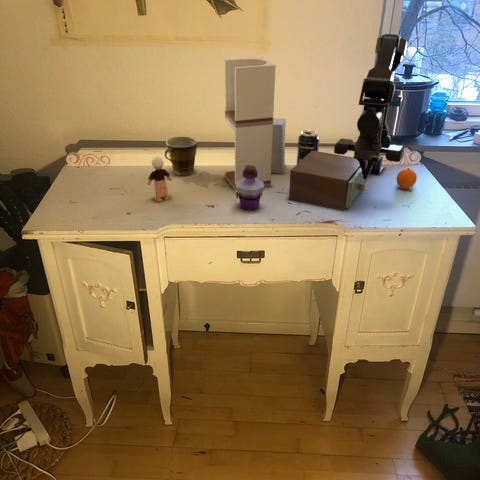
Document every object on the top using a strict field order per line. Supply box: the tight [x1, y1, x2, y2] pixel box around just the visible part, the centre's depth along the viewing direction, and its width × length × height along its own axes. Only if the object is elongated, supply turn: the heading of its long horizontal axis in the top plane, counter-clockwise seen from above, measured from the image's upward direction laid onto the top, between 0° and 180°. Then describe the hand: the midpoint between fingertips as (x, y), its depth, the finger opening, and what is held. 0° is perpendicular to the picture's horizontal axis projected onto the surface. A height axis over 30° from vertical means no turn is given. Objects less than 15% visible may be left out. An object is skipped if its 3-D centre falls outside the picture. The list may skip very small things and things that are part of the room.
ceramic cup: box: [164, 136, 198, 176], centre depth 171 cm, size 13×10×10 cm
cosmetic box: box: [271, 117, 287, 175], centre depth 172 cm, size 8×7×16 cm
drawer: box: [345, 163, 368, 209], centre depth 158 cm, size 18×18×8 cm
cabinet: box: [288, 150, 361, 211], centre depth 159 cm, size 19×17×9 cm
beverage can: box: [296, 129, 320, 165], centre depth 174 cm, size 7×7×12 cm
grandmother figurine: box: [146, 156, 173, 202], centre depth 154 cm, size 8×4×13 cm, turn 135°
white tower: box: [223, 57, 276, 192], centre depth 157 cm, size 11×11×35 cm
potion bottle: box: [235, 165, 265, 212], centre depth 150 cm, size 9×9×12 cm
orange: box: [395, 167, 418, 191], centre depth 163 cm, size 6×6×6 cm
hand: (365, 179), depth 154 cm, fingers closed
